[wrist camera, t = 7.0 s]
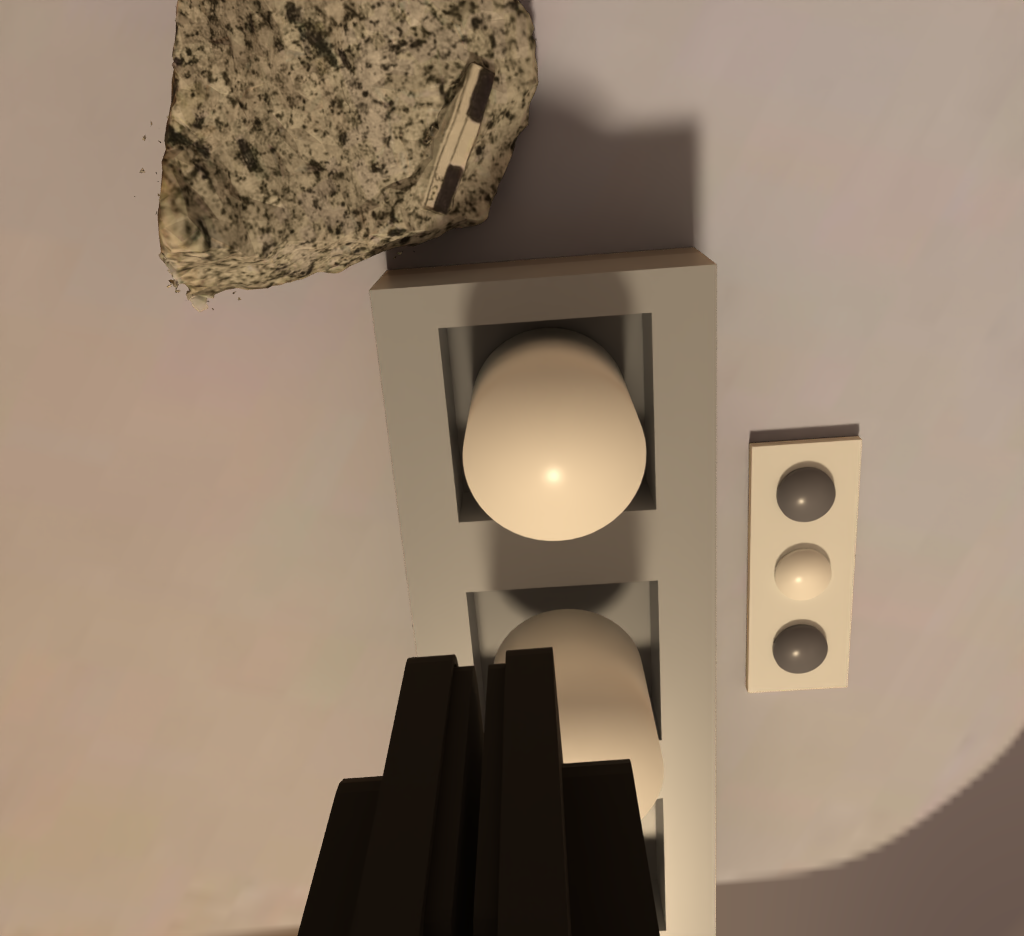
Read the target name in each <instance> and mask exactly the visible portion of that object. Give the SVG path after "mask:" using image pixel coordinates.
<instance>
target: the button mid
mask: <svg viewBox="0 0 1024 936" xmlns="http://www.w3.org/2000/svg"><path fill="white" fill-rule="evenodd" d="M544 647H553V655H554V666H555V677H556V688H557V699H558V710H559V721H560V732H561V743H562V754H563V763H577V762H591V761H605V760H619V759H630V761H631V765H632V770H633V776H634V782H635V788H636V794H637V800H638V806H639V812H640V818H641V819H642V818H643V817H644V816H645V815H646V814H647V813H648V812H649V810H650V809H651V808H652V807H653V805H654V803H655V802H656V800H657V798H658V796H659V793H660V791H661V788H662V783H663V778H664V764H663V757H662V753H661V748H660V744H659V739H658V734H657V730H656V725H655V721H654V716H653V712H652V707H651V702H650V698H649V693H648V689H647V684H646V679H645V675H644V670H643V666H642V661H641V657H640V654H639V651H638V649H637V647H636V645H635V643H634V642H633V640H632V639H631V637H630V636H629V635H628V634H627V633H626V631H624V630H623V629H622V628H621V627H620V626H619V625H617V624H616V623H614V622H613V621H612V620H610V619H608V618H606V617H604V616H602V615H599V614H596V613H594V612H589V611H585V610H578V609H559V610H552V611H548V612H544V613H541V614H538V615H535V616H533V617H531V618H529V619H527V620H525V621H524V622H522V623H521V624H519V625H518V626H517V627H516V628H514V629H513V630H512V631H511V632H510V633H509V634H508V636H507V637H506V638H505V639H504V641H503V642H502V644H501V645H500V647H499V649H498V651H497V653H496V656H495V660H494V664H500V663H505V657H506V650H518V649H531V648H544Z"/></svg>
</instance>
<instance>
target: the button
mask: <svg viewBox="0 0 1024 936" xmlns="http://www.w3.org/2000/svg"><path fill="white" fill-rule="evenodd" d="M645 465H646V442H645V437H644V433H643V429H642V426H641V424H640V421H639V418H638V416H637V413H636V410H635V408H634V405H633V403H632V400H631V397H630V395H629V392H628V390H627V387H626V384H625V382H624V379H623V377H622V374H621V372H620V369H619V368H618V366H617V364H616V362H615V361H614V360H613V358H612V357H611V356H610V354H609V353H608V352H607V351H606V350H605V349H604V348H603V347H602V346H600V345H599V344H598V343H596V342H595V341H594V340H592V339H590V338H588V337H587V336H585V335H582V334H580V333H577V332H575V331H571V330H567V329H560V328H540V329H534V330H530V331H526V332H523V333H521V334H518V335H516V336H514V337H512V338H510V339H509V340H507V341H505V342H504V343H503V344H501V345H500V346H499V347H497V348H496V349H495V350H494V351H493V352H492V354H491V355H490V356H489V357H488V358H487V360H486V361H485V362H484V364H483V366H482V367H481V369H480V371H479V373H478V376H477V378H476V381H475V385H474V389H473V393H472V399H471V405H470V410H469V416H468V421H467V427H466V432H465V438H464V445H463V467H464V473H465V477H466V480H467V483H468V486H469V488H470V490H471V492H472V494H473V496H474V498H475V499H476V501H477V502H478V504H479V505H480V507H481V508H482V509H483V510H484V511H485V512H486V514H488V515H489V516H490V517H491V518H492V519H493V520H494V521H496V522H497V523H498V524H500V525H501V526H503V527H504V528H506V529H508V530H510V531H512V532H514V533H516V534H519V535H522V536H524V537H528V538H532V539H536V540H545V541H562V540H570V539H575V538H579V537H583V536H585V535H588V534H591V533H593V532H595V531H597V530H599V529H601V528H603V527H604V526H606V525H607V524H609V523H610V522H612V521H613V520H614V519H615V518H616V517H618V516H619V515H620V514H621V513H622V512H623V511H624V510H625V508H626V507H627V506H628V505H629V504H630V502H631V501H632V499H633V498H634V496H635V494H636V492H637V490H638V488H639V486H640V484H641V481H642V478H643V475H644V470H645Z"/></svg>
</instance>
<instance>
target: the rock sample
mask: <svg viewBox="0 0 1024 936" xmlns="http://www.w3.org/2000/svg"><path fill="white" fill-rule="evenodd" d="M175 7H176V20H175V21H176V35H175V43H174V47H173V53H172V57H173V60H174V62H173V64H172V66H173V68H174V71H173V77H172V96H171V107H170V112H169V116H168V117H167V118H168V121H167V125H166V133H165V146H166V151H165V154H164V157H163V160H162V170H163V171H162V182H161V193H160V195H159V194H158V196H160V199H159V209H158V227H159V239H160V247H161V253H160V254H159V257H160V259H161V260H162V261H163V262H164V263H165V264H166V265H167V267H168V268H169V270H167V271H169V273H171V275H172V277H173V279H174V280H170V281H169V282H170V283H173V286H174V287H176V289H177V287H178V285H179V284H181V283H183V284H185V285H186V286H187V287H188V288H189V291H187V293H186V295H187V298H188V300H189V299H190V301H191V302H192V306H193V307H194V308H195V309H196V310H197V311H199V312H201V311H203V310H205V309H207V308H208V306H207V304H206V302H209V301H207V298H214V295H215V294H217V293H219V292H222V291H224V290H228V289H233V288H241V289H246V290H251V289H262V288H269V287H271V286H275V285H282V284H284V283H287V282H293V281H295V280H300V279H303V278H306V277H308V276H310V275H312V274H314V273H316V272H326V273H339V272H342V271H343V270H345V269H346V268H348V267H349V266H351V265H353V264H356V263H358V262H360V261H362V260H365V259H367V258H369V257H371V256H374V255H376V254H378V253H381V252H383V251H386V250H389V249H392V248H395V247H400V246H415V245H417V244H420V243H423V242H425V241H428V240H430V239H433V238H437V237H439V236H440V235H442V234H443V233H445V232H446V231H448V230H451V229H453V228H462V227H469V226H475V225H478V224H481V223H482V222H484V221H485V220H486V219H487V218H488V213H489V209H490V205H491V203H492V200H493V198H494V196H495V195H496V193H497V187H498V185H499V183H500V181H501V179H502V177H503V175H504V172H505V170H506V168H507V166H508V163H509V161H510V158H511V156H512V153H513V150H514V145H515V141H516V139H517V137H518V135H519V134H520V133H521V132H522V130H523V129H524V128H525V127H526V126H527V125H528V118H529V105H530V102H531V100H532V98H533V95H534V93H535V91H536V88H537V85H538V67H537V62H536V58H535V47H536V45H535V40H534V38H533V36H532V33H533V31H534V27H533V24H532V21H531V18H530V15H529V12H528V13H527V11H526V10H525V9H524V7H523V6H522V5H521V3H520V2H519V1H518V0H178V2H177V6H175ZM151 125H152V122H151ZM145 139H146V136H144V137H143V139H142V140H144V141H145ZM159 142H160V141H159ZM160 143H161V142H160ZM139 173H145V171H144V169H143V168H142V169H141V171H140V172H139ZM156 174H157V173H156ZM158 182H159V181H158ZM134 197H135V196H134ZM156 214H157V211H156ZM414 252H415V251H414ZM401 253H402V252H398V254H399V255H400V254H401ZM164 257H165V258H166V259H165V258H164ZM394 258H396V256H395V257H394ZM394 258H393V259H394ZM171 285H172V284H170V285H168V286H167V288H169V287H172V286H171ZM180 291H181V290H176V291H175V292H176V293H177V292H178V293H179V292H180ZM235 292H236V291H235ZM235 292H233V294H234V293H235ZM238 300H241V299H240V298H238ZM212 309H213V308H212ZM213 310H214V309H213Z"/></svg>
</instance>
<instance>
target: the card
mask: <svg viewBox="0 0 1024 936" xmlns="http://www.w3.org/2000/svg"><path fill="white" fill-rule="evenodd" d="M861 448H862V439H861V438H860V437H859V436H851V437H836V438H821V439H807V440H792V441H777V442H762V443H749V510H748V578H747V645H746V689H747V691H748V693H754V692H772V691H789V690H806V689H823V688H840V687H847V681H848V664H849V648H850V631H851V614H852V598H853V581H854V564H855V548H856V531H857V514H858V498H859V481H860V464H861Z"/></svg>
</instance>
